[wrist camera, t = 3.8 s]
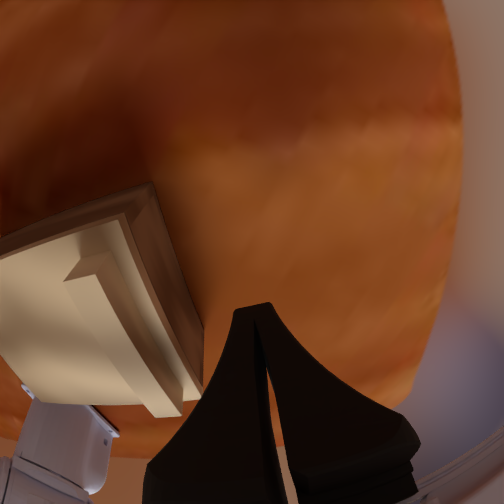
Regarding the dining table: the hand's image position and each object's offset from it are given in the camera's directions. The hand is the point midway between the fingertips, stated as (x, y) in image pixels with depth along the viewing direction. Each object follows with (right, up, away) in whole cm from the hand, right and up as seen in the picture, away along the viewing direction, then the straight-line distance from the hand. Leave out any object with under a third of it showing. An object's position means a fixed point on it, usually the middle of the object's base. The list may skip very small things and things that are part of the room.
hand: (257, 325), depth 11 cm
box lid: (-10, -1, +1) cm, 10 cm away
